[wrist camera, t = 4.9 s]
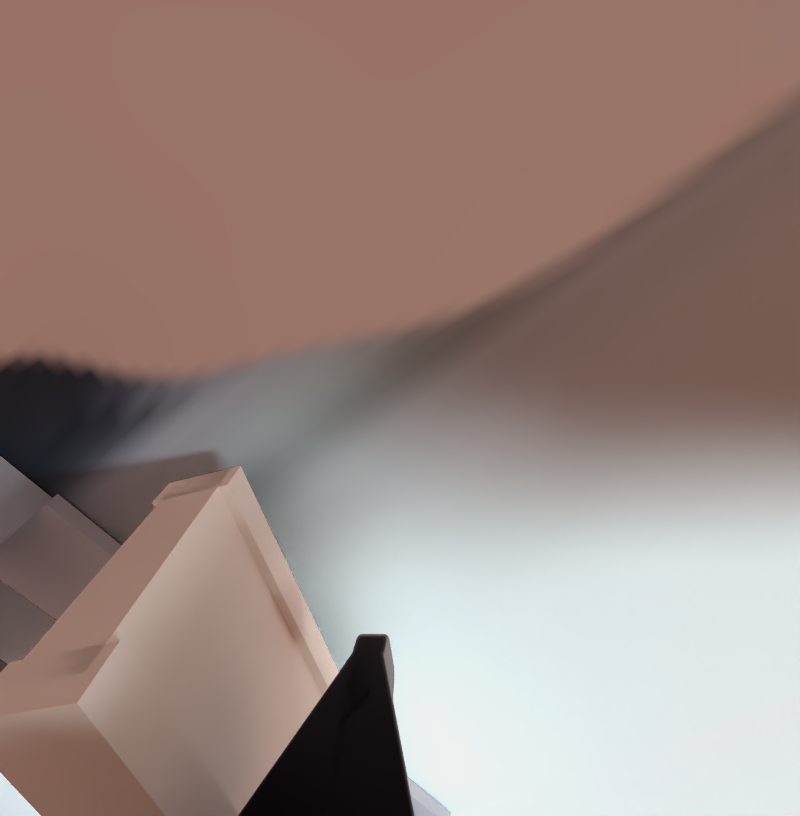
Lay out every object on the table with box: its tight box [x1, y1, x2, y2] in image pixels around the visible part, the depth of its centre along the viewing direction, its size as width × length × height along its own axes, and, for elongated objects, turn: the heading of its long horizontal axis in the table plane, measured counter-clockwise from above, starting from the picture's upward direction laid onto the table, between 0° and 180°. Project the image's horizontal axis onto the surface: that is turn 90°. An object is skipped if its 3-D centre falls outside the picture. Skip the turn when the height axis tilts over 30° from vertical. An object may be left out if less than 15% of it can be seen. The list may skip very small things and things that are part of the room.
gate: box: [0, 466, 339, 816], centre depth 10 cm, size 2×14×5 cm, turn 16°
